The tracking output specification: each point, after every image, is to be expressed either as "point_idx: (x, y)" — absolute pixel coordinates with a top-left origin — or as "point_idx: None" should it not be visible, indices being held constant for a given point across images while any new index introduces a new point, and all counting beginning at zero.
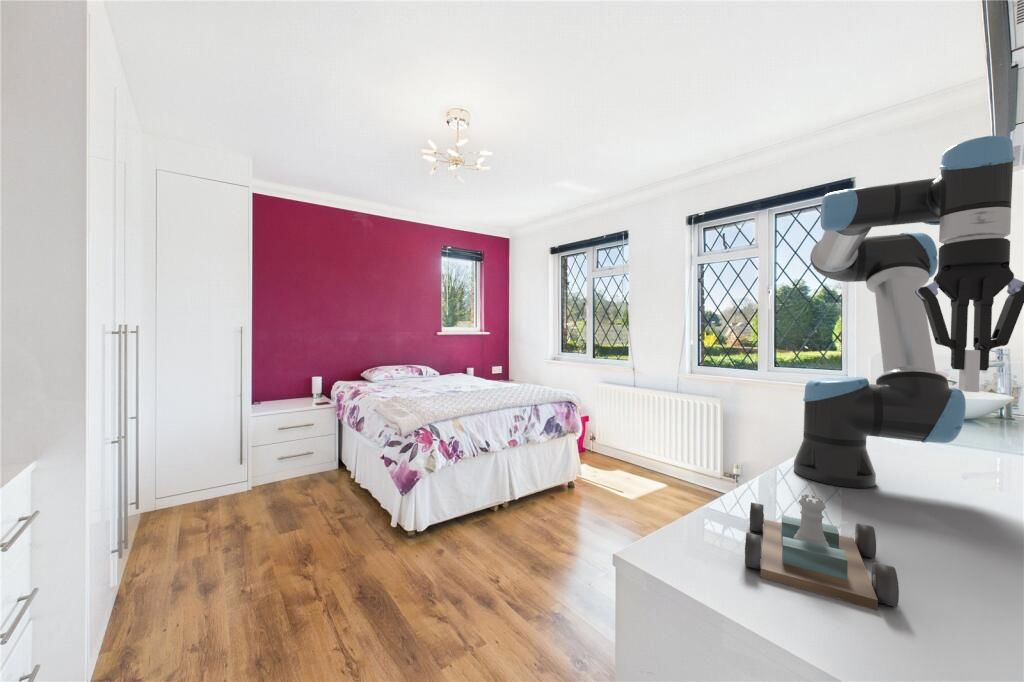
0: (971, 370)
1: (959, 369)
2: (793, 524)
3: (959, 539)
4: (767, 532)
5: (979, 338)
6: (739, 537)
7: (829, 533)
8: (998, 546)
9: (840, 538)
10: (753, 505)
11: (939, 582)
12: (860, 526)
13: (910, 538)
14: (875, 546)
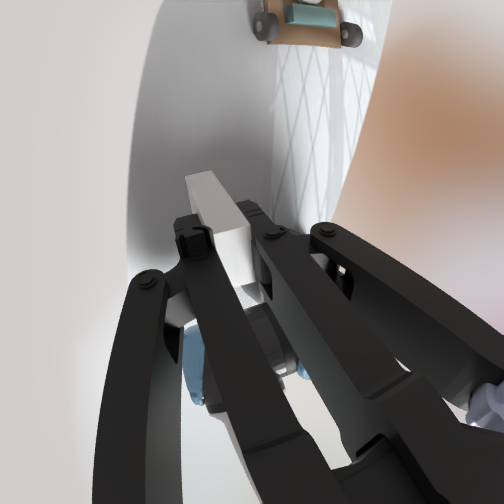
0: (213, 194)
1: (239, 203)
2: (327, 8)
3: (172, 141)
4: (336, 18)
5: (226, 273)
6: (349, 15)
7: (299, 4)
8: (142, 151)
9: (282, 35)
10: (360, 30)
11: (206, 11)
12: (276, 20)
13: (216, 104)
14: (259, 12)
